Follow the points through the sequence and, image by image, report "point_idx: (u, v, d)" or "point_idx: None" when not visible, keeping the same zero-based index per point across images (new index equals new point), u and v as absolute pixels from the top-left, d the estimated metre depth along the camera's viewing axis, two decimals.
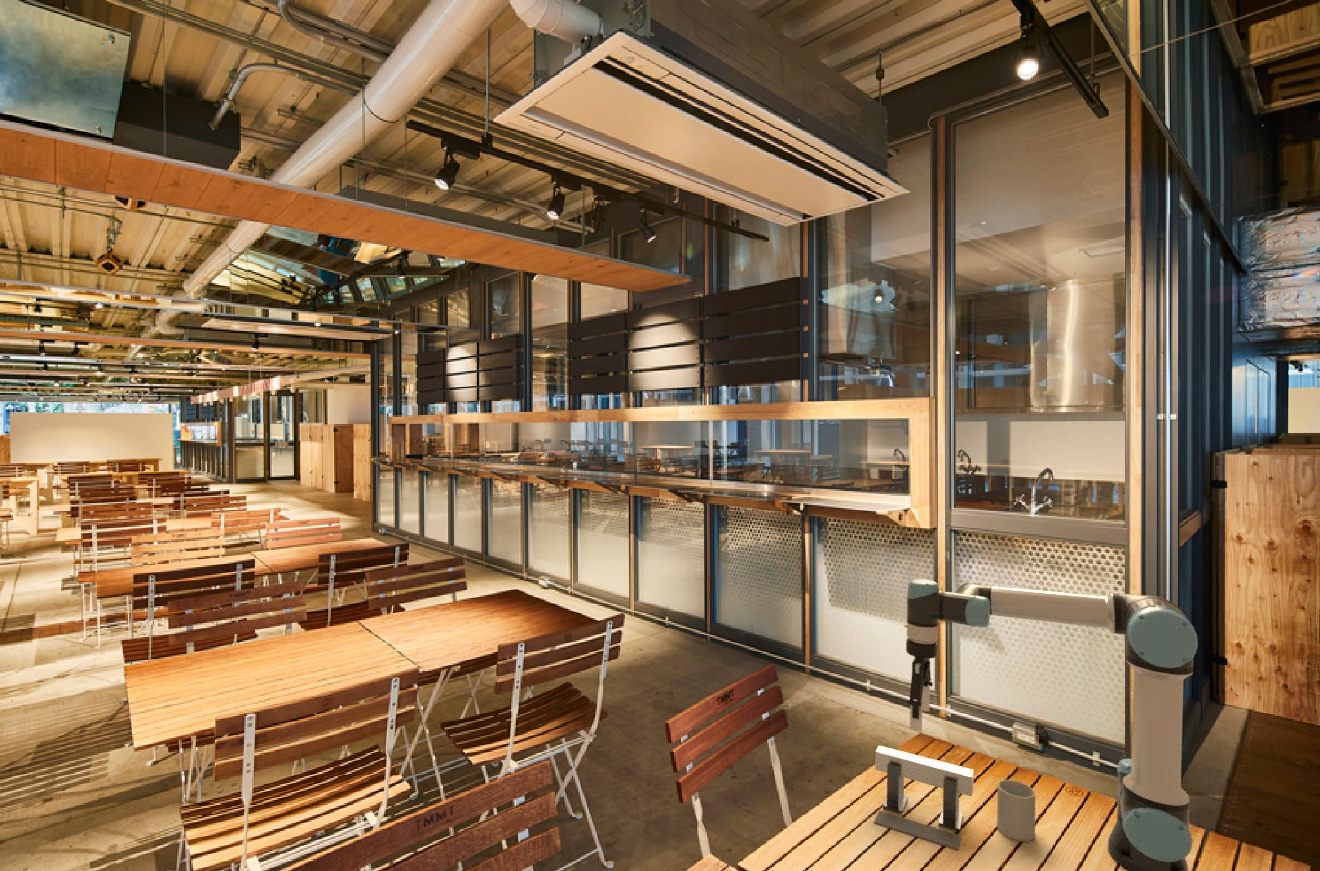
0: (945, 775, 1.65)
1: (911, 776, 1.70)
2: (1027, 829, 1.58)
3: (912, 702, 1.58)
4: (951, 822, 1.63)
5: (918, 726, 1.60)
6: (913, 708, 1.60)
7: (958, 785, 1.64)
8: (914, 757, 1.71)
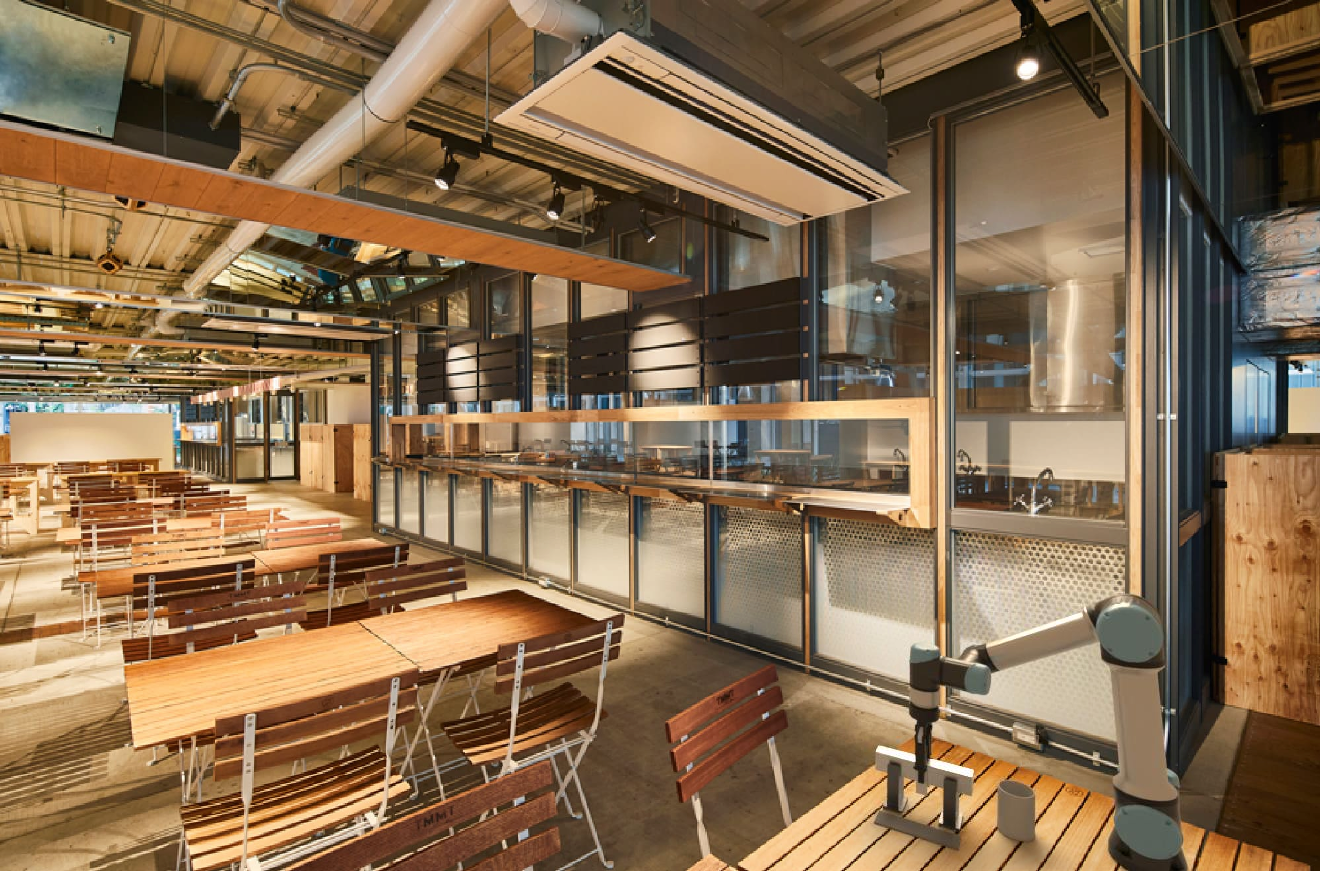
0: (945, 775, 1.65)
1: (911, 776, 1.70)
2: (1027, 829, 1.58)
3: (917, 768, 1.65)
4: (951, 822, 1.63)
5: (924, 790, 1.67)
6: (919, 773, 1.67)
7: (958, 785, 1.64)
8: (914, 757, 1.71)
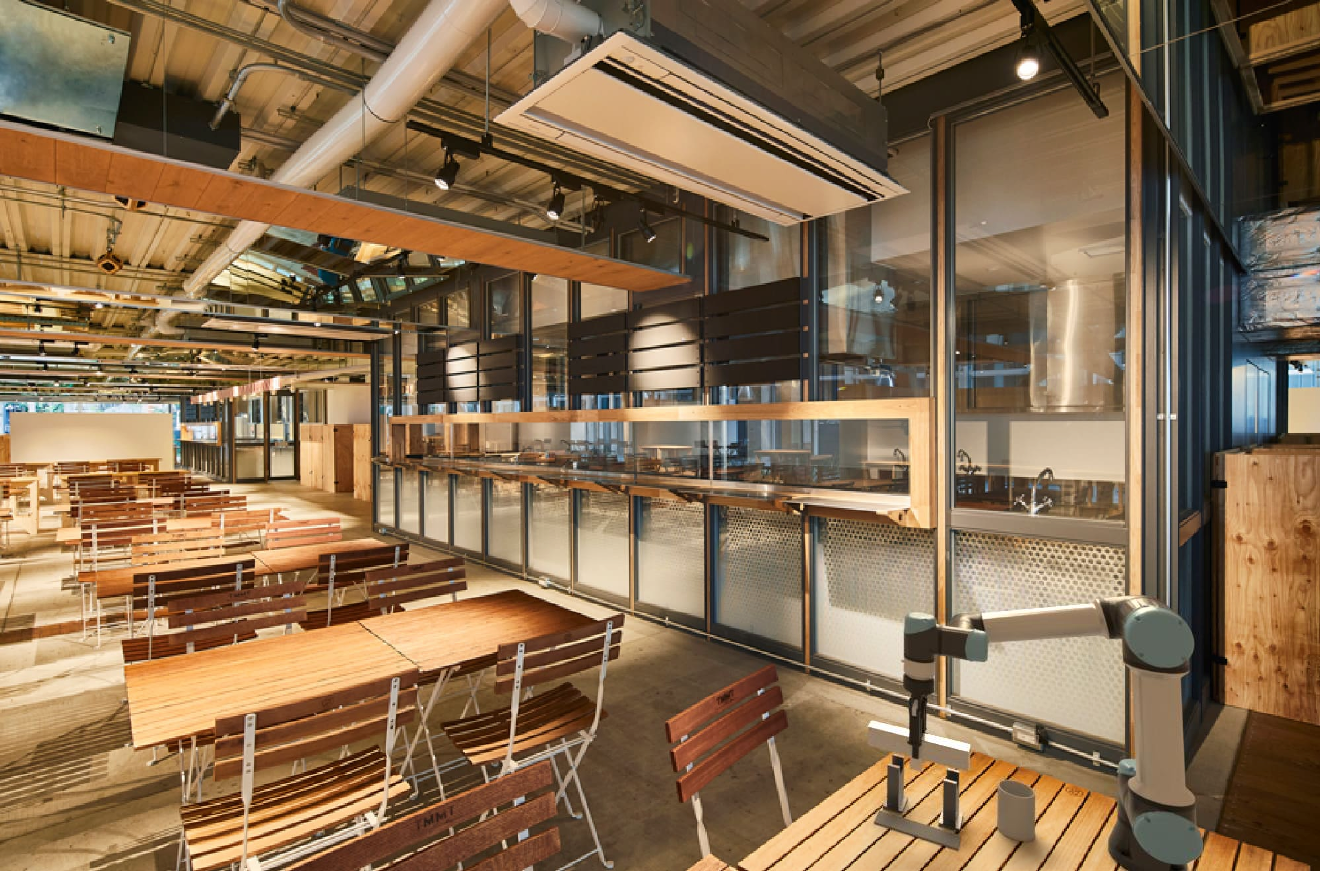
0: (940, 750, 1.58)
1: (904, 751, 1.62)
2: (1027, 829, 1.58)
3: (912, 742, 1.58)
4: (951, 822, 1.63)
5: (918, 766, 1.60)
6: (913, 748, 1.59)
7: (954, 760, 1.56)
8: (908, 732, 1.64)
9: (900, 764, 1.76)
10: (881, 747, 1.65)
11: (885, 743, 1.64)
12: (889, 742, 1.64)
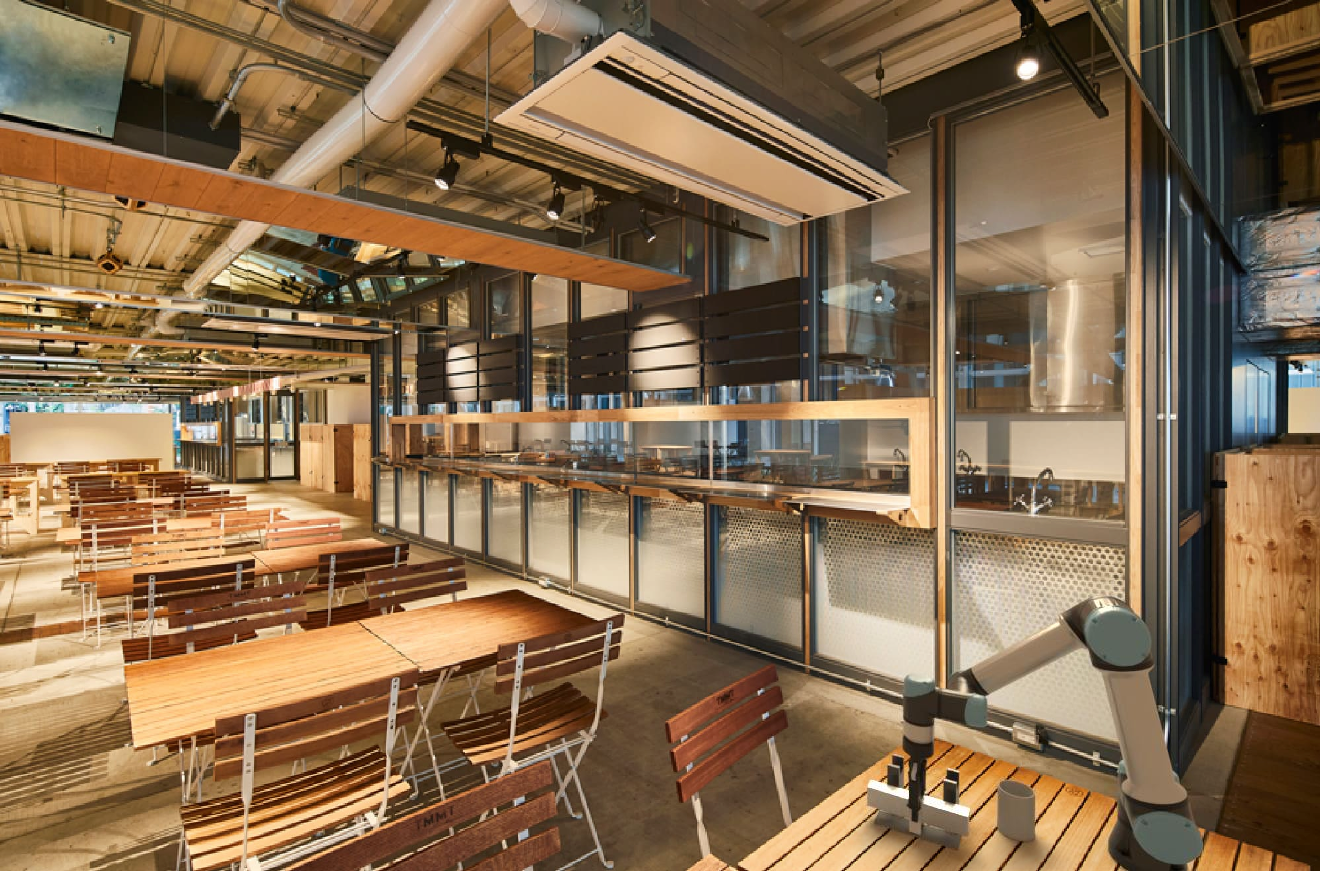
0: (940, 814, 1.58)
1: (904, 814, 1.62)
2: (1027, 829, 1.58)
3: (911, 806, 1.58)
4: None
5: (917, 829, 1.60)
6: (912, 811, 1.59)
7: (953, 825, 1.56)
8: None
9: (900, 764, 1.76)
10: (880, 808, 1.65)
11: (884, 804, 1.65)
12: (889, 803, 1.64)
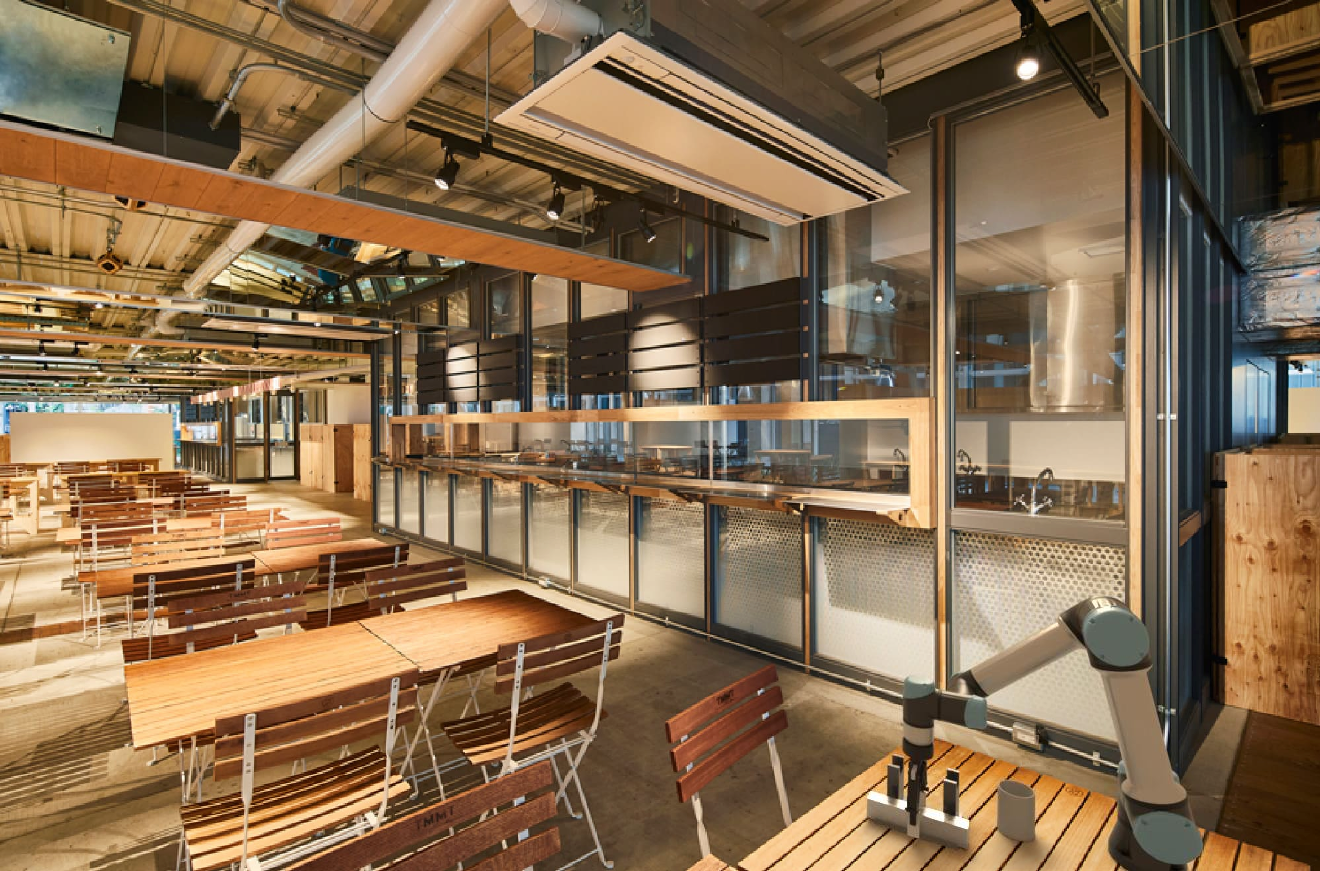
0: (939, 826, 1.58)
1: (903, 826, 1.62)
2: (1027, 829, 1.58)
3: (909, 810, 1.56)
4: None
5: (916, 833, 1.57)
6: (910, 815, 1.57)
7: (953, 837, 1.56)
8: None
9: (900, 764, 1.76)
10: (880, 820, 1.65)
11: (884, 816, 1.65)
12: (888, 815, 1.64)
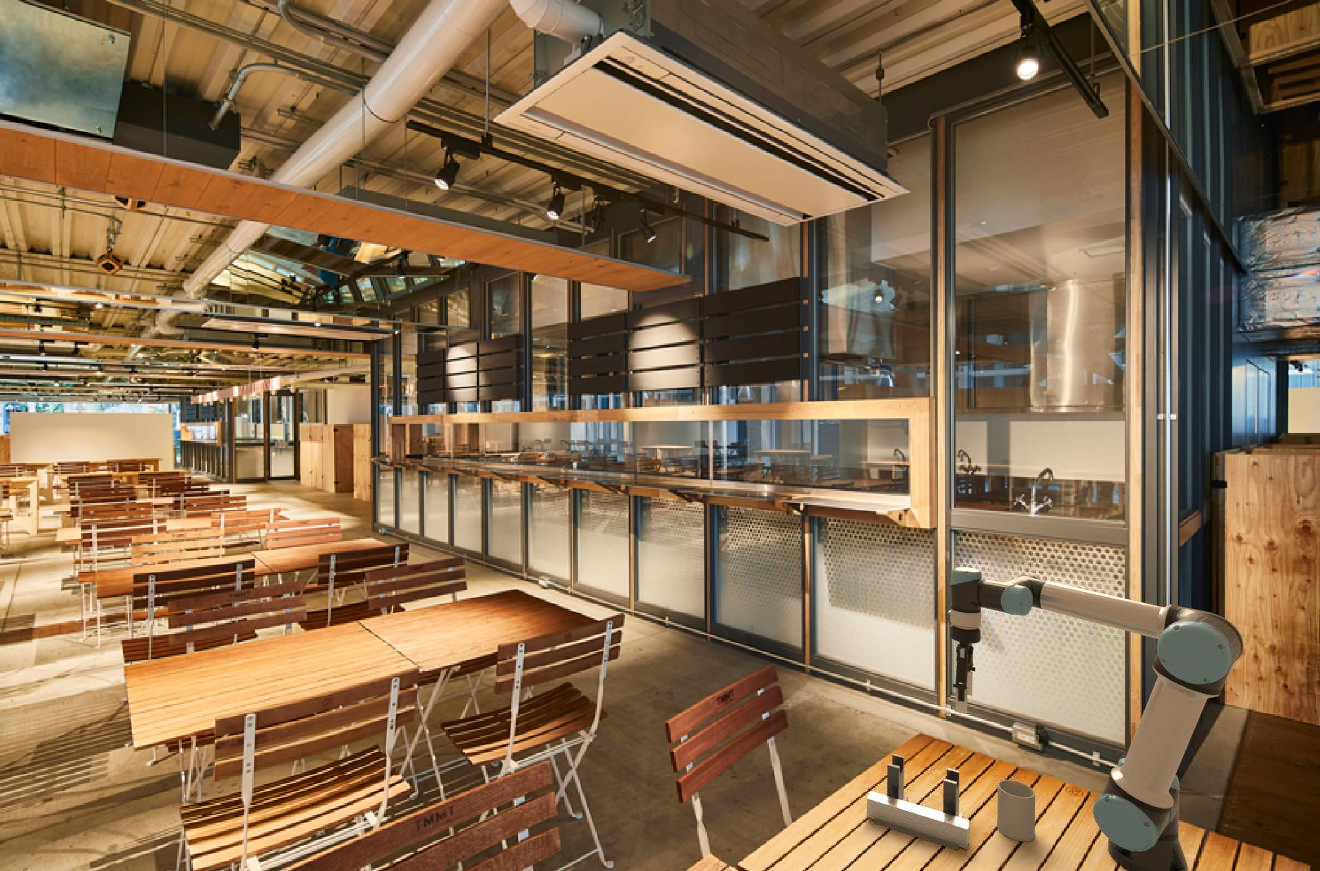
0: (939, 826, 1.58)
1: (903, 826, 1.62)
2: (1027, 829, 1.58)
3: (958, 685, 1.64)
4: None
5: (964, 708, 1.66)
6: (959, 691, 1.65)
7: (953, 837, 1.56)
8: (907, 805, 1.64)
9: (900, 764, 1.76)
10: (880, 820, 1.65)
11: (884, 816, 1.65)
12: (888, 815, 1.64)
